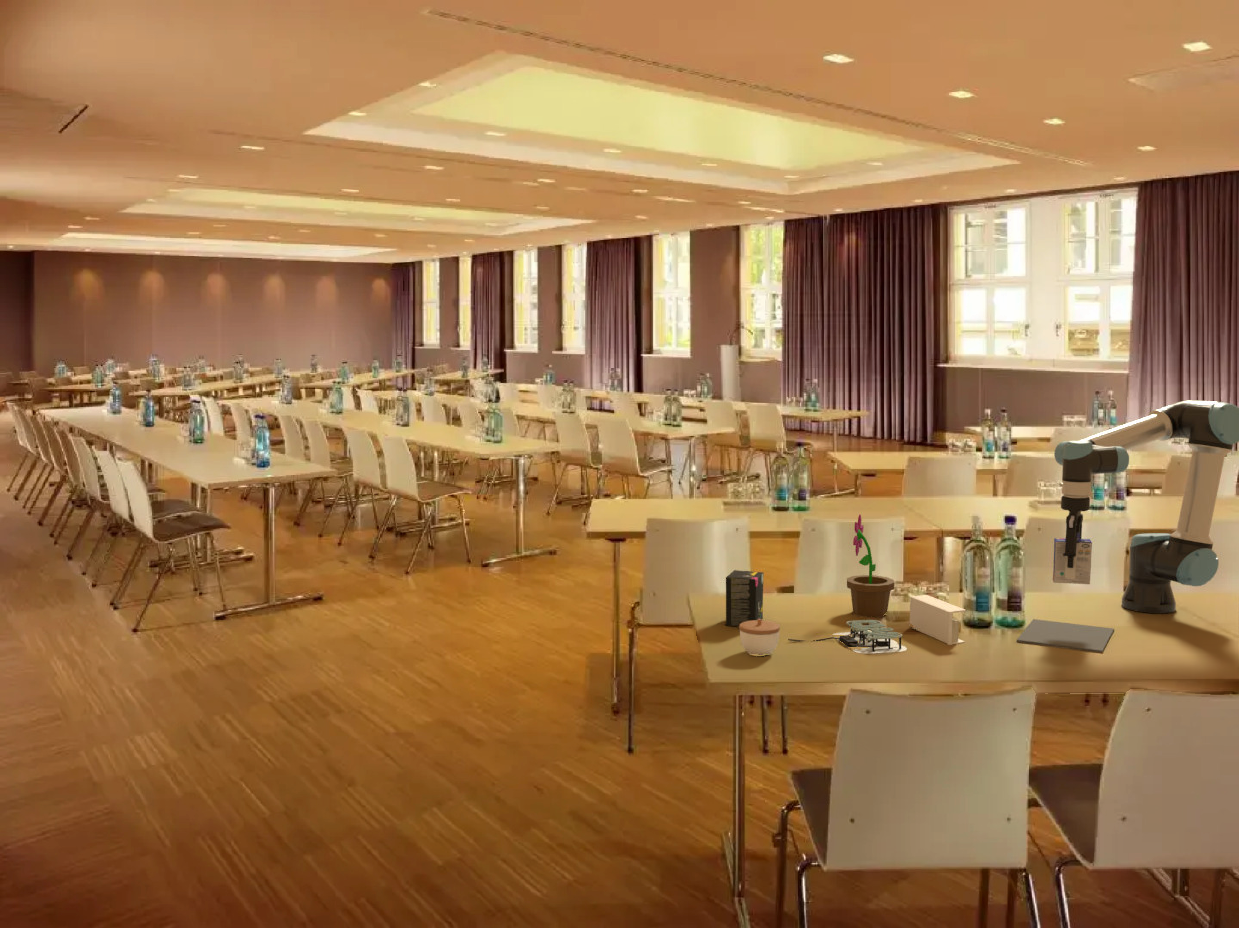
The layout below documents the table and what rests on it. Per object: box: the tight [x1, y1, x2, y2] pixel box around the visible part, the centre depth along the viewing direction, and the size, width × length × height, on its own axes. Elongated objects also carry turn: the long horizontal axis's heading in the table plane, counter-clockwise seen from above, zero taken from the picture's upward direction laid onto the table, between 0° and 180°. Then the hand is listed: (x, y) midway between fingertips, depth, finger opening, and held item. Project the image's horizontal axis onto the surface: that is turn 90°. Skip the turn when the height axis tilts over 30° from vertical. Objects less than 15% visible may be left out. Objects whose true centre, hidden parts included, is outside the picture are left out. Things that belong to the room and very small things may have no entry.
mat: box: [1016, 618, 1115, 654], centre depth 321 cm, size 25×22×1 cm
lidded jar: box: [738, 619, 781, 655], centre depth 306 cm, size 11×11×9 cm
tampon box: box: [725, 569, 764, 627], centre depth 337 cm, size 11×9×15 cm
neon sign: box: [787, 619, 908, 655], centre depth 315 cm, size 21×4×29 cm
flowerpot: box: [846, 514, 895, 619], centre depth 346 cm, size 14×14×30 cm
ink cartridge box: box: [1052, 533, 1093, 585], centre depth 324 cm, size 10×6×14 cm, turn 75°
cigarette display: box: [909, 594, 967, 646], centre depth 323 cm, size 20×6×9 cm, turn 19°
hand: (1072, 576), depth 325 cm, fingers closed on ink cartridge box, 6 cm apart
